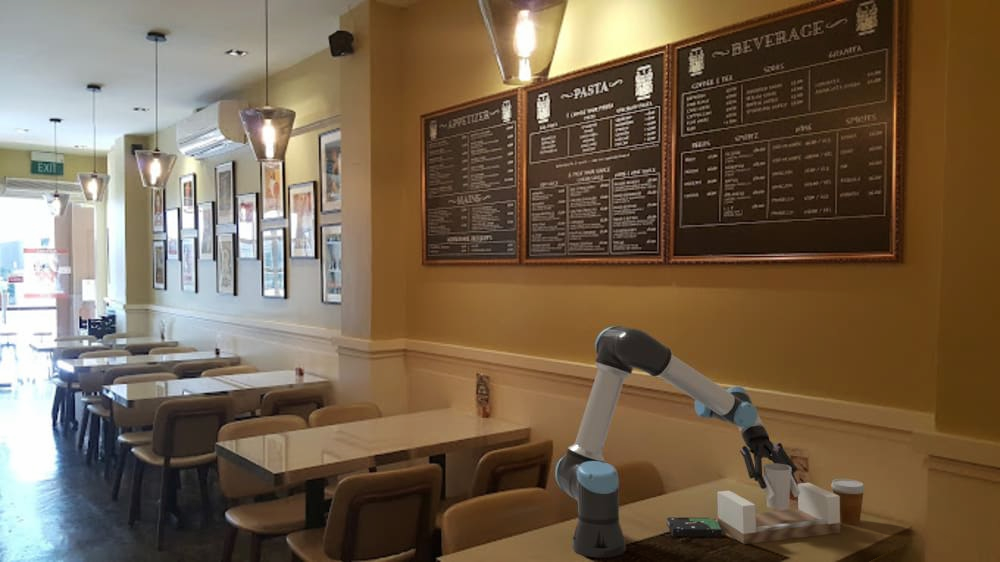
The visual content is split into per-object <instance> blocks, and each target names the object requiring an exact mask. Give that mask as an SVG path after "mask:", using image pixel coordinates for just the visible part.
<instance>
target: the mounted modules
mask: <svg viewBox="0 0 1000 562" xmlns="http://www.w3.org/2000/svg"><path fill="white" fill-rule="evenodd" d="M797 486H798V488H799V490H800V492H801V493H800V494H799V495H798V496H797V501H798V502H797V503H798V506H797V509H799V510H801V511H803V512H805V513H807V514H809V515H811V516H813V517H815V518H817V519H819V520H821V519H824V520H826V521H827V524H834V523H840V524H841V522H840V496H838V495H836V494H834V493H833V491H832V492H831V491H829V490H827V489H824V488H822V487H820V486H817V485H815V484H813V483H810V482H803V483H801V482H800V483H797ZM716 493H717V495H716V496H717V498H716V499H717V519H718V518H719V519H721V520H722V521H724V522H725V523H727V524H729V525H730V526H732V527H733V528H735V529H737V530H738V531H740V532H741V533H743V534H747V533H755V532H756V515H755V514H756V504H754V503H753V502H751V501H749V500H747V499H745V498H744V497H742V496H740V495H739V494H736V493H735V492H733V491H730V490H723V491H722V490H721V491H717V492H716Z"/></svg>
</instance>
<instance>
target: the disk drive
mask: <svg viewBox="0 0 1000 562" xmlns="http://www.w3.org/2000/svg"><path fill="white" fill-rule="evenodd" d="M666 518H667V519H666V521H667V523H666V524H667V526H668V529H669V531H670V534H671V536H672V537H712V536H722V537H723V532H724V531H723V530H722V528H721V526H720V524H719V523H718V520H717V519H716V518H712V517H674V516H673V517H666Z"/></svg>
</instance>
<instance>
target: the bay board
mask: <svg viewBox="0 0 1000 562" xmlns="http://www.w3.org/2000/svg"><path fill="white" fill-rule="evenodd" d="M755 515H756V532H755V533H747V534H743V533H741V532H740V531H738V530H737V529H735V528H733V527H732V526H730V525H729V524H727V523H725V522H724V521H722V520H721V519H719V518H718V517H717V522H718V523H719V524H720V526H721V528H722V532H724V533H725V534H727V535H729V536H731V537H732V538H733V539H735V540H737V542H739V541H740V542H739V543H740V544H742V543H743V545H749V543H750V544H757V543H765V542H767V543H768V542H773V541H782V540H791V539H793V540H794V539H798V538H801V539H802V538H807V537H808V538H809V537H816V536H825V535H834V534H835V535H836V534H840V533H841V522H840V523H834V524H827V521H826V520H824V519H821V520H819V519H817V518H815V517H813V516H811V515H809V514H807V513H805V512H803V511H801V510H799V509H798V508H797V509H796V508H795V509H787V510H777V511H767V512H759V513H758V512H757V513H755Z"/></svg>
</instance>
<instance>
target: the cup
mask: <svg viewBox="0 0 1000 562" xmlns="http://www.w3.org/2000/svg"><path fill="white" fill-rule="evenodd" d="M762 469H763V476H766V478H767V480H768V482H769V484H770V486H771V488H772V490H773V492H774V494H775V496H774V497H773V498H772V499H771V500H769V499H768V497H767V495H766V494H765V495H766V506H767V507H768V508H769V509H772V510H777V511H785V510H790V506H791V505H790V499H791V498H790V496H791V489H790V483H791V470H792V468H791V467H790V466H788V465H785V464H777V463H773V462H771V463H766V464H762Z"/></svg>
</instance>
